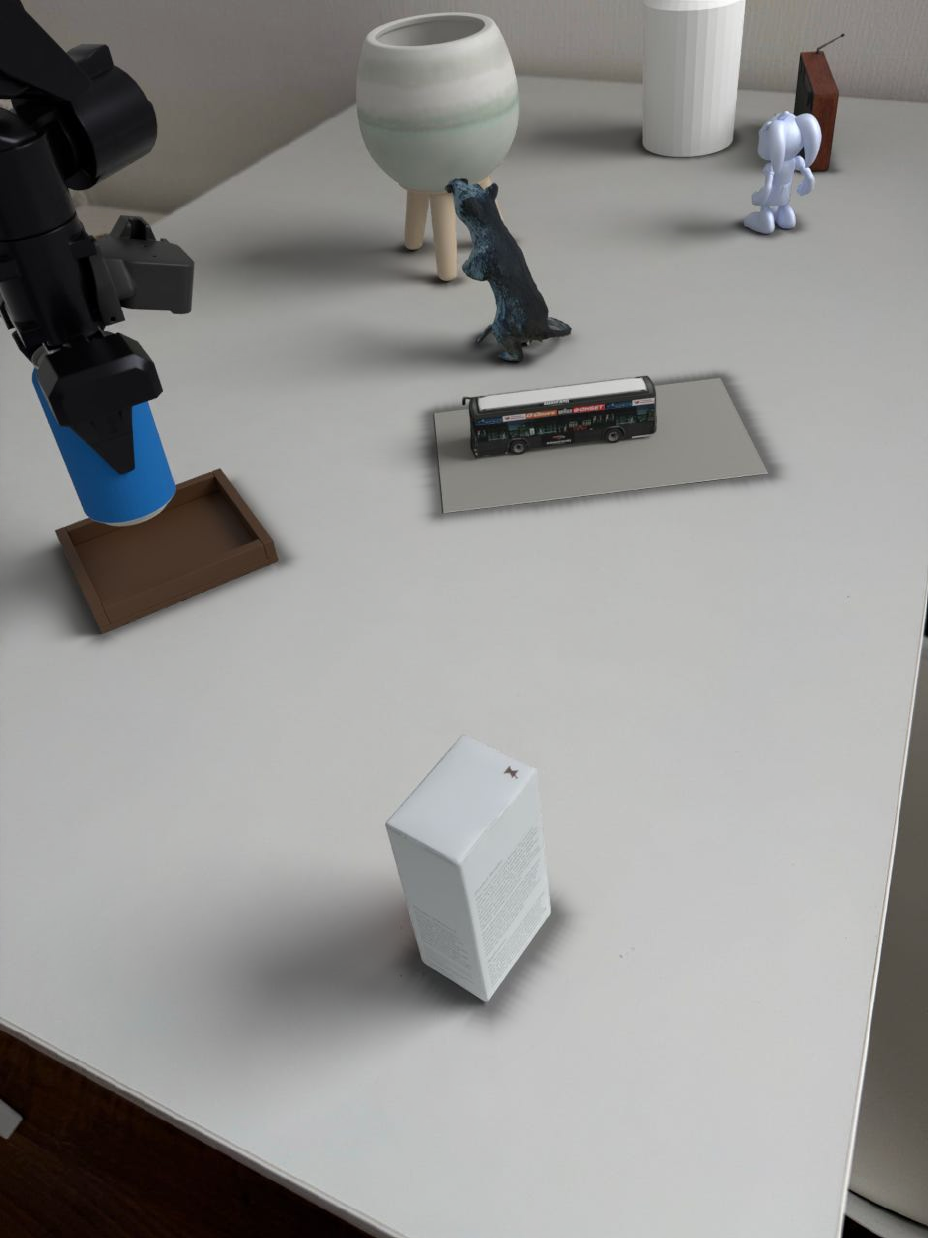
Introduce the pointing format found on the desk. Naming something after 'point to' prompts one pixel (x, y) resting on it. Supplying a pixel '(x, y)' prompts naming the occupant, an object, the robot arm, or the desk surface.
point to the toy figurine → (783, 168)
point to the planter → (437, 114)
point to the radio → (817, 100)
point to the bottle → (690, 74)
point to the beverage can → (99, 482)
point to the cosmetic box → (473, 864)
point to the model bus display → (589, 441)
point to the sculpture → (502, 272)
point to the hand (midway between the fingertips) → (113, 448)
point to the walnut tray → (167, 551)
